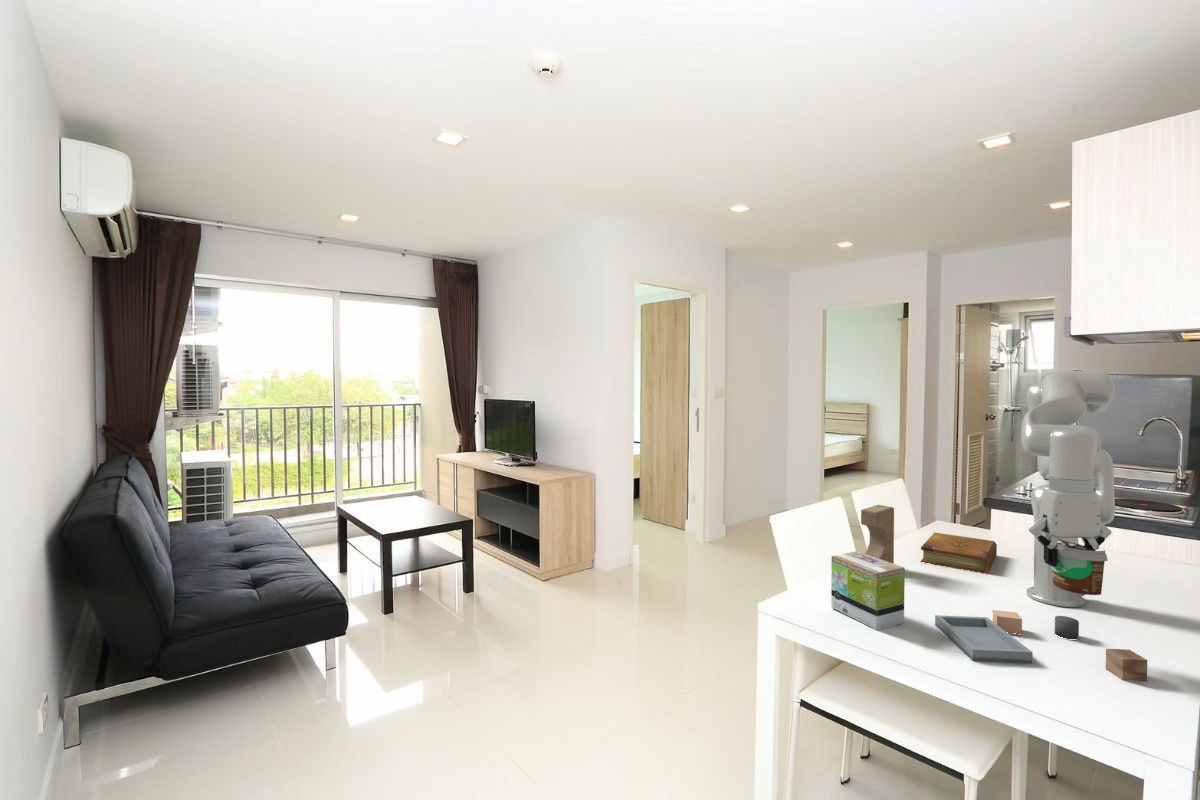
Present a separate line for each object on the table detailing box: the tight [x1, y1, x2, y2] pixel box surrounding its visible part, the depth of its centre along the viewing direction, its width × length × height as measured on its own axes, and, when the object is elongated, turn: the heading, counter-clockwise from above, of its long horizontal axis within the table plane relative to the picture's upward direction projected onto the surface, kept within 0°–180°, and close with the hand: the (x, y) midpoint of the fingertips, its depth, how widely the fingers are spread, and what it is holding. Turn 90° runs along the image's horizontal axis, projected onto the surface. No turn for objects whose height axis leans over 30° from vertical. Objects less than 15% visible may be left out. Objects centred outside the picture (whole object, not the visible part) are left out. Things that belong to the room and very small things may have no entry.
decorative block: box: [860, 504, 895, 564], centre depth 182 cm, size 11×6×20 cm, turn 126°
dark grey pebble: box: [1054, 615, 1080, 640], centre depth 135 cm, size 4×4×4 cm
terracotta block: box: [992, 609, 1023, 635], centre depth 139 cm, size 5×4×4 cm
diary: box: [920, 532, 998, 575], centre depth 192 cm, size 23×19×6 cm
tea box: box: [830, 550, 906, 631], centre depth 148 cm, size 15×10×15 cm, turn 23°
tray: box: [934, 615, 1034, 664], centre depth 132 cm, size 12×18×2 cm, turn 172°
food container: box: [1051, 539, 1109, 596], centre depth 126 cm, size 12×6×10 cm, turn 5°
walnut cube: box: [1105, 648, 1148, 682], centre depth 117 cm, size 4×4×4 cm
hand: (1069, 564), depth 126 cm, fingers closed on food container, 6 cm apart
